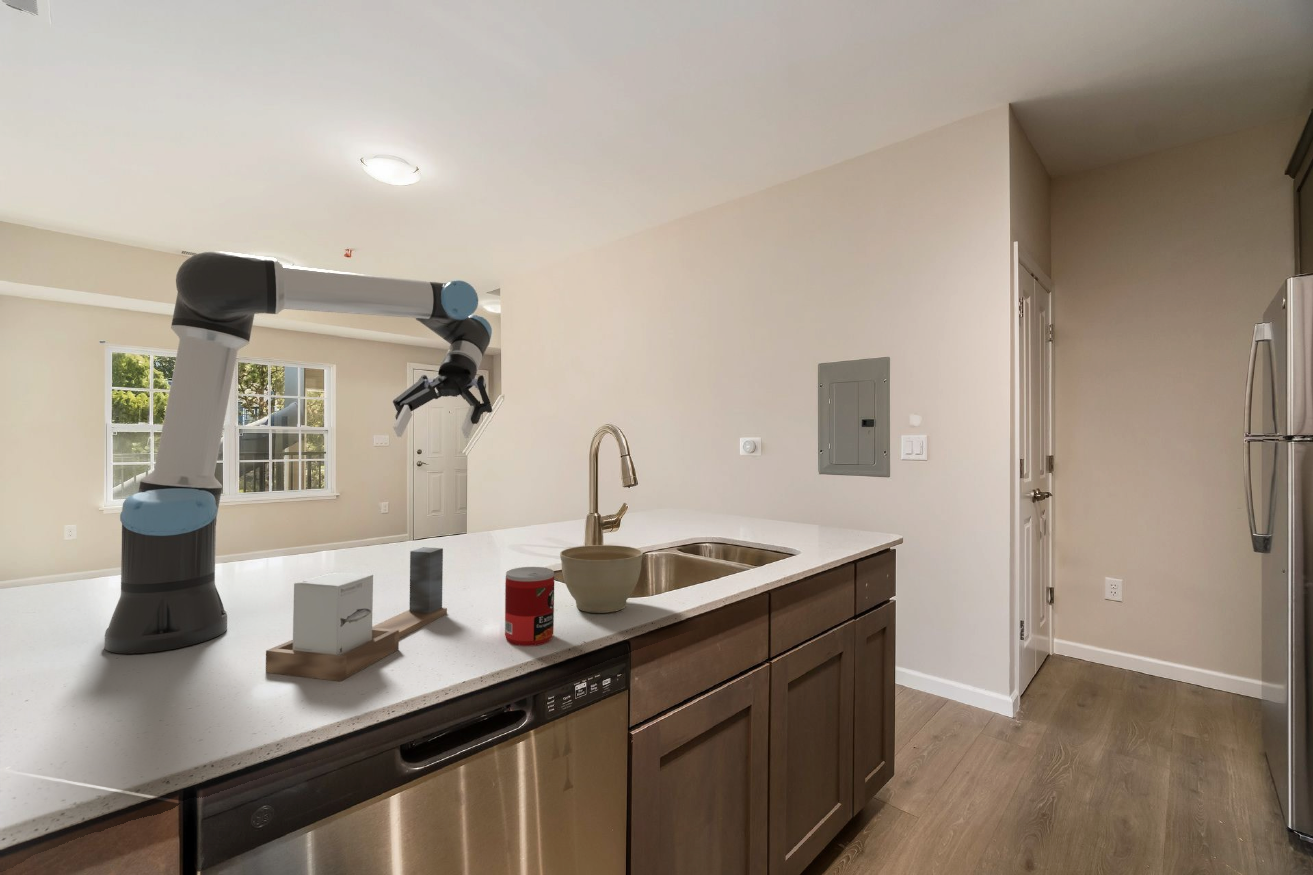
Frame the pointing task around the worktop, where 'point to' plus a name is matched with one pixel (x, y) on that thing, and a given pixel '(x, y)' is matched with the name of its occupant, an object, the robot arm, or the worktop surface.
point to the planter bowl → (601, 575)
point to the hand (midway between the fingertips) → (431, 432)
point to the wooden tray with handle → (384, 635)
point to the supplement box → (332, 613)
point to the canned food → (529, 606)
